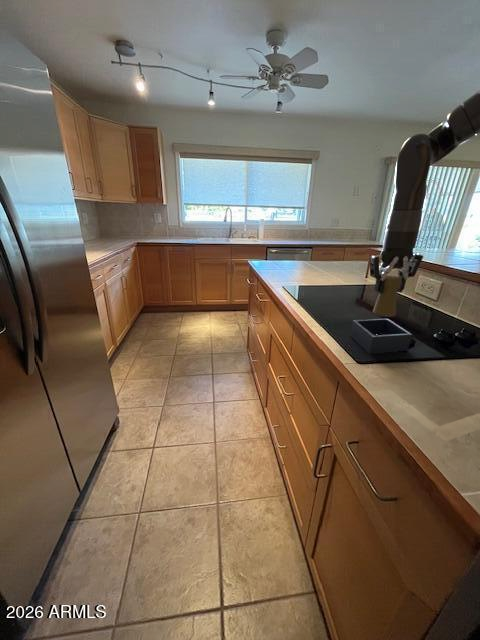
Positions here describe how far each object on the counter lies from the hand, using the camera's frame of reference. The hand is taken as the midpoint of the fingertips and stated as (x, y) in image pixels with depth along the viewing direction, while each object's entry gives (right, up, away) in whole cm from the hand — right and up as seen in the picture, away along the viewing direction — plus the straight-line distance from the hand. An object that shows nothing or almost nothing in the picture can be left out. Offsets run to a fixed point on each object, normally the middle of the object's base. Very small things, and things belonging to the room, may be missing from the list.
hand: (388, 291), depth 74 cm
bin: (0, -15, +7) cm, 17 cm away
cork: (0, -6, +3) cm, 7 cm away
